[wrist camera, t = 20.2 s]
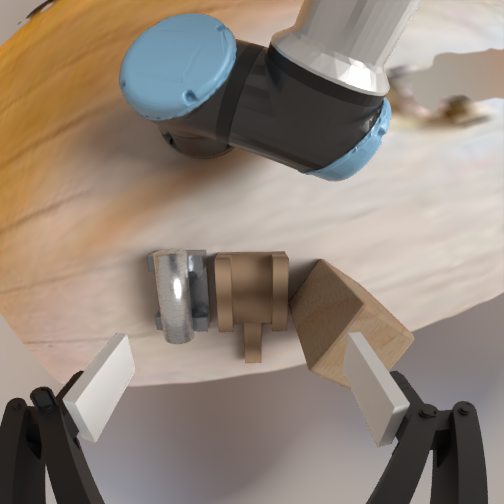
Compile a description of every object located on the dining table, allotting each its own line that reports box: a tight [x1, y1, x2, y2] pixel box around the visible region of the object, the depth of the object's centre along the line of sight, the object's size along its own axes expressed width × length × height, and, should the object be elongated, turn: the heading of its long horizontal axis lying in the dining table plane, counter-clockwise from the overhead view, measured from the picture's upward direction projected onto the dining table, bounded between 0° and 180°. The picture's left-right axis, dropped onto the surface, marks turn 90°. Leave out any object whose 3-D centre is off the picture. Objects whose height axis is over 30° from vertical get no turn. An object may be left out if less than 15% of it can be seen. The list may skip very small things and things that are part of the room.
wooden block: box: [289, 259, 414, 389], centre depth 38 cm, size 10×10×20 cm
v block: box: [147, 250, 211, 331], centre depth 46 cm, size 13×9×4 cm
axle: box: [153, 249, 194, 344], centre depth 42 cm, size 14×5×5 cm, turn 1°
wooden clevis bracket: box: [214, 252, 289, 363], centre depth 46 cm, size 20×11×5 cm, turn 1°
